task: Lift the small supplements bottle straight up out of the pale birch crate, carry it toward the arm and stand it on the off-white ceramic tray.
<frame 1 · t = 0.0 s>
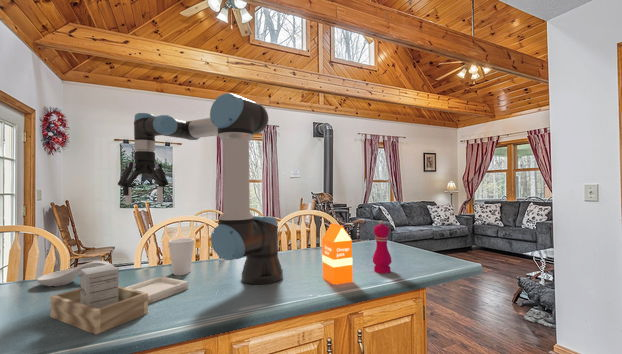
hand: (144, 203, 123), 28 cm above the kitchen counter, tool pointing down, fingers open, 13 cm apart
pepper mill: (382, 271, 118), on the kitchen counter
orange juice: (337, 280, 109), on the kitchen counter
supplement box: (99, 316, 81), resting in crate
crate: (99, 315, 81), on the kitchen counter
spoon rest: (78, 282, 111), on the kitchen counter
foam cup: (181, 273, 120), on the kitchen counter
tray: (155, 292, 98), on the kitchen counter
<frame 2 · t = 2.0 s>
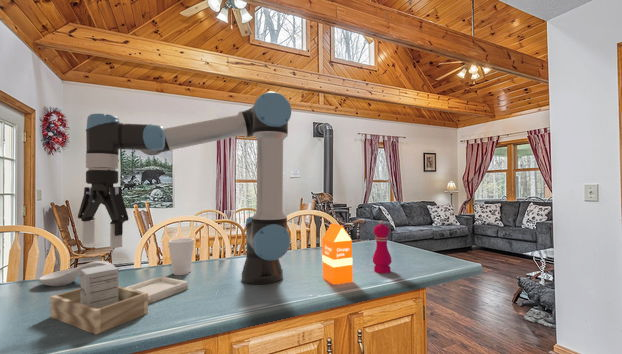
hand: (101, 245, 84), 18 cm above the kitchen counter, tool pointing down, fingers open, 13 cm apart
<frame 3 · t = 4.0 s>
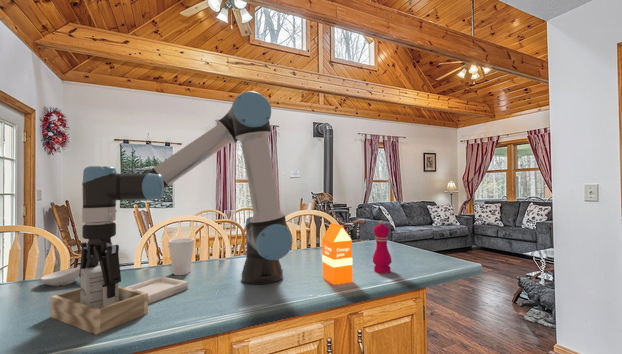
hand: (99, 306, 82), 2 cm above the kitchen counter, tool pointing down, fingers closed on supplement box, 8 cm apart
supplement box: (99, 315, 81), resting in crate, touching gripper
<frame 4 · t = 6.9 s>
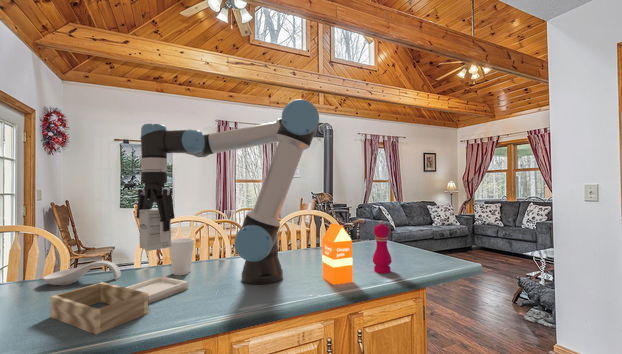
hand: (155, 240, 98), 17 cm above the kitchen counter, tool pointing down, fingers closed on supplement box, 8 cm apart
supplement box: (155, 248, 98), point 14 cm above the kitchen counter, touching gripper
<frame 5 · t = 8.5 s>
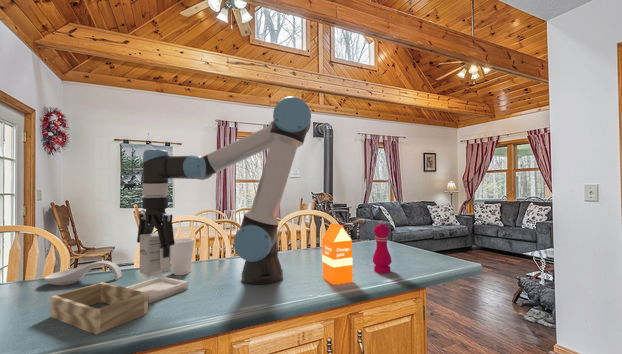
hand: (155, 265, 99), 9 cm above the kitchen counter, tool pointing down, fingers closed on supplement box, 8 cm apart
supplement box: (155, 273, 99), point 6 cm above the kitchen counter, touching gripper
when the fingers open (5 cm above the kitchen counter, at t = 9.7 s): supplement box drops 1 cm, resting on tray.
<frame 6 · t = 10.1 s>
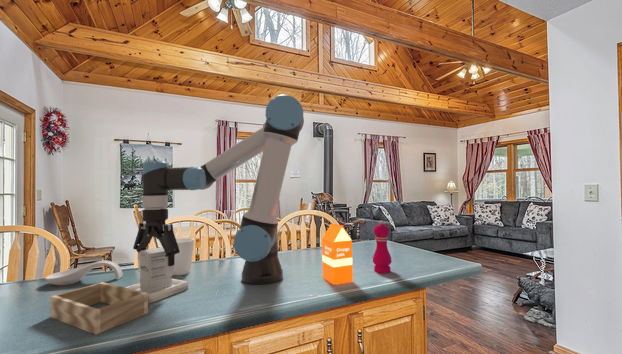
hand: (155, 273, 99), 6 cm above the kitchen counter, tool pointing down, fingers open, 13 cm apart
supplement box: (156, 289, 98), point 1 cm above the kitchen counter, touching tray
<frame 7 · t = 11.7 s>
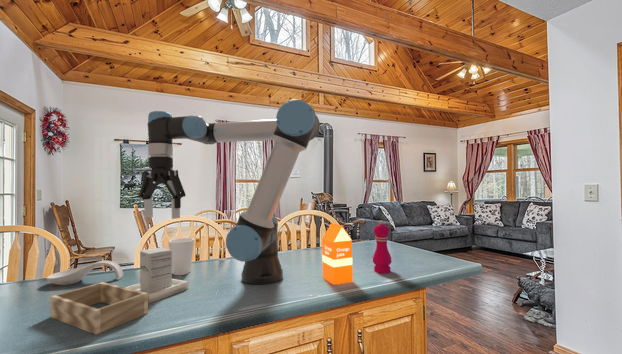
hand: (161, 218, 104), 24 cm above the kitchen counter, tool pointing down, fingers open, 13 cm apart
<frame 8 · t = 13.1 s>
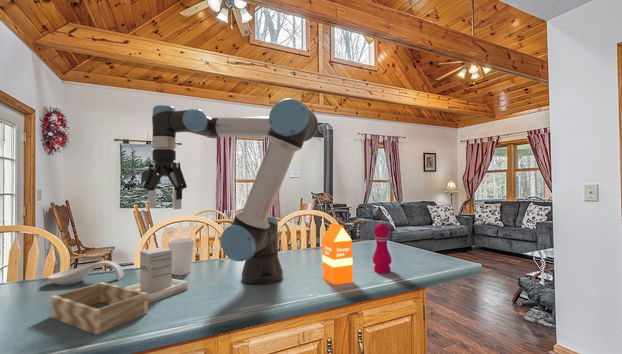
hand: (164, 208, 108), 27 cm above the kitchen counter, tool pointing down, fingers open, 13 cm apart
at the end: supplement box inside the target area on the tray (0.2 cm from its centre), point 1.0 cm above the tray's base; supplement box tilted 0°; the gripper is holding nothing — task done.
